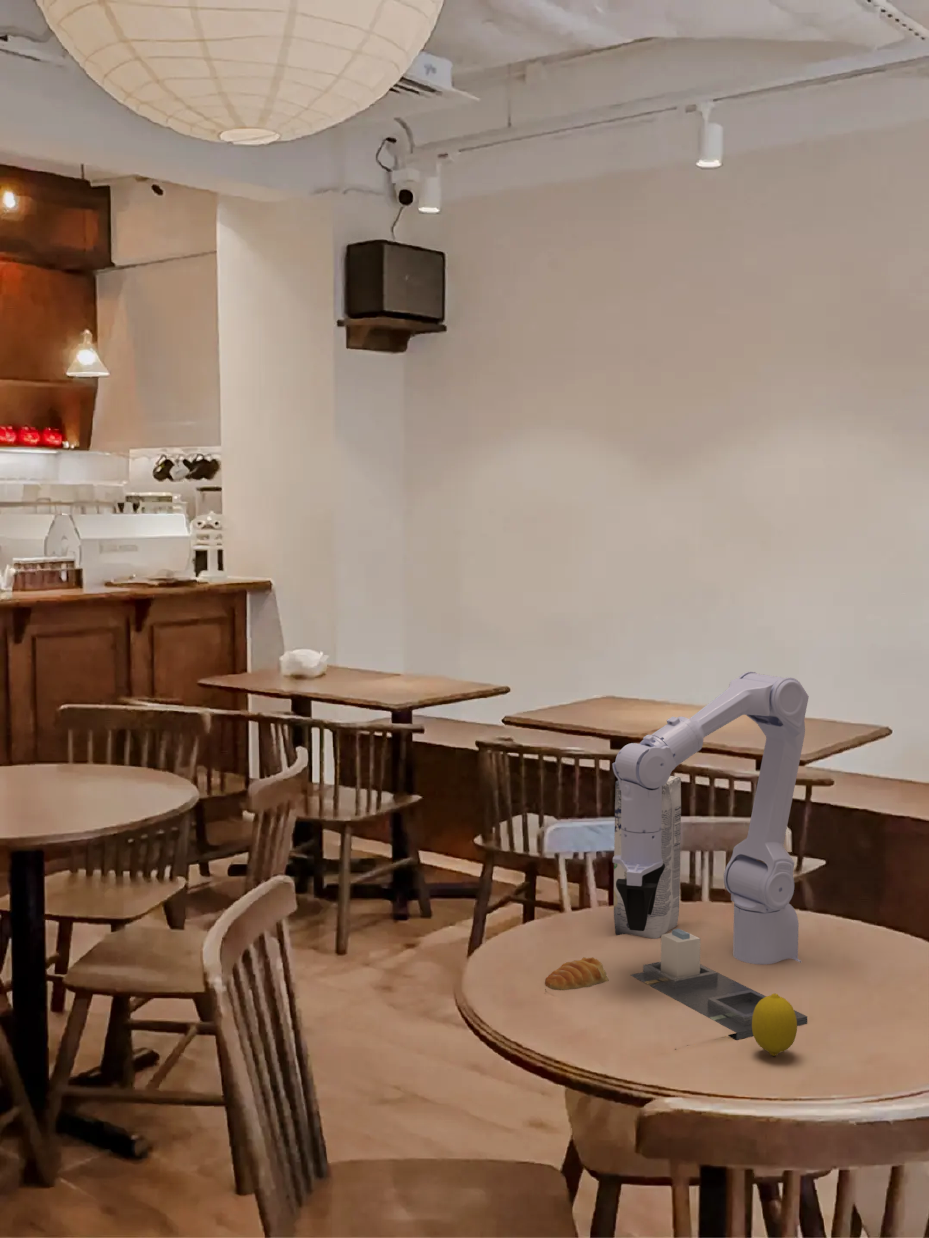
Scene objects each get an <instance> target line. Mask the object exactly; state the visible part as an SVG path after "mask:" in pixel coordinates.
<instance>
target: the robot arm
mask: <svg viewBox="0 0 929 1238" xmlns="http://www.w3.org/2000/svg"><path fill="white" fill-rule="evenodd" d="M808 702H809V694H808V693H807V691H806V690H805V688H804V687H803V684H801V682H800V681H799V680H798V679H796V678H794V677H788V676H787V677H782V676H777V675H776V676H775V675H770V674H761V673H757V672H756V671H746V672H743V673H741V674H740V675H739V676H738V677H735V678H734V679H731V680H730V682H729V684H728V688H727V689H725V690H724V691H723V692H722V693H720V694H719V695H718V696H717V697H715V698H714V699H713V700H711V701H710V702H709V703H708V704H705V706H704V707H702V708H701V709H700V710H699V711H697V712H696V713H694V714H693V715H692V716H691V717H690V718H688V717H685V716H677V717H676V716H671V717H670V718H668V719H666V724H665V725H663V726H662V727H660V728H659V729H658V730H656V731H655V732H653V733H652V734H647V735H645V736H643V738H642V740H641V741H640V742H639V743H636V742H635V743H634V742H631V743H628V744H626V745H624V746H623V747H622V748H621V749H620V750H619V751H618V753H617V755H616V757H615V762H613V763H612V764H611V765H612V771H613V774H614V777H616V779H617V781H618V780H619V790H621V855H615V856H613V857H612V863H613V864H614V863H618V864H620V865H621V866H622V867H623V869H624V870H625V871H626V873H627V879H617V881H616V887H617V890H618V892H619V893H620V895H621V898H622V900H623V903H624V907H625V911H626V917H627V922H628V926H629V929H630V930H635V931H644V930H645V927H646V923H647V917H648V915H651V913H652V910H653V906H654V901H655V895H656V890H657V886H658V882H659V879H660V877H661V874H662V872H663V871H664V869H665V864H663V859H662V858H661V836H662V829H661V828H662V786H663V785H665V784H666V782H667V781H668V779H669V777H670V776H671V773H672V771H674V770H675V769H676V768H677V766H680V765H681V764H682V763H683V762H686V760H688V759H689V758H690V757H692V756H693V755H694V754H696V753H698V752H699V751H701V750H702V748H703V745H704V739H705V738H706V737H707V736H709V735H711V734H712V733H714V732H716V731H718V730H719V729H721V728H723V727H724V726H726V725H727V724H730V723H732V722H733V721H735V720H737V719H738V718H740V717H741V716H744V715H745V716H747V717H748V718H749V719H750V720H752V721H753V722H754V723H755V724H756V725H757V726H758V727H759V729H760V730H761V732H762V733H763V734H764V736H765V743H764V748H763V754H762V759H761V764H760V769H759V774H758V779H757V785H756V788H755V789H756V790H755V791H756V792H755V794H754V800H753V807H752V810H751V811H752V812H751V817H750V822H749V826H748V831H747V836H746V838H744V839H743V840H742V841H740V842H738V843H737V844H736V845H734V847H733V850H732V854H731V857H730V859H729V861H728V863H727V865H725V868H724V872H723V885H724V888H725V889H726V890H727V892H728V893H729V894H730V901H732V902H733V934H732V935H733V938H732V945H733V946H732V947H733V948H732V955H733V958H735V959H736V960H738V961H741V962H743V963H747V964H750V965H751V964H754V965H773V964H776V963H779V962H782V961H784V960H790V959H792V960H795V962H799V963H802V960H801V959H799V924H800V923H799V918H798V914H797V912H796V910H795V908H794V906H792V904H790V902H791V900H792V898H793V895H794V893H795V891H794V890H795V879H794V868H795V862H794V860H793V859H792V857H791V855H790V853H789V852H788V851H787V850H786V848H785V846H784V843H785V839H786V834H787V829H788V828H787V827H788V823H789V817H790V814H791V807H792V803H793V798H794V793H795V787H796V781H797V777H798V771H799V766H800V761H801V757H802V752H803V751H802V750H803V746H804V745H803V744H804V740H805V735H806V723H805V718H806V712H807V707H808Z"/></svg>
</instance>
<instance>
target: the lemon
mask: <svg viewBox="0 0 929 1238" xmlns="http://www.w3.org/2000/svg"><path fill="white" fill-rule="evenodd" d="M765 996H766V995H765ZM794 1010H795V1009H794V1008H793V1006H792V1004H791V1003H790V1002H789V1001H788V1000H787V999H786V998H784V997H782V996H780V995H779V994H778V993H775V992H774V993H771V995H770V994H769V995H767V996H766V997H764V998H763V999H761V1000H760V1001H759V1002H758V1004H757V1005H756V1007H755V1009H754V1012H753V1017H752V1032H753V1036H752V1037H753V1038H754V1040H755V1042H756V1043H757V1045H758V1046H759V1047H760V1048H761V1049H763V1050H765V1051H766V1052H768V1053H769V1054H770V1055H771V1056H773V1057H776V1056H777V1055H779V1054H780V1053H782V1052H785V1051H788V1049H789V1048H791V1046H793V1044H794V1042H795V1039H796V1036H797V1031H798V1026H797V1020H796V1015H795V1012H794Z"/></svg>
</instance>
